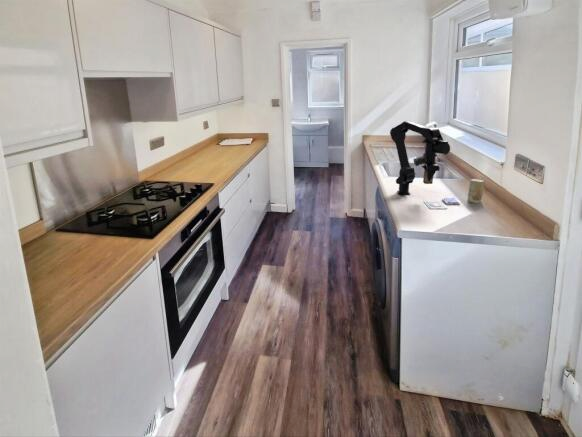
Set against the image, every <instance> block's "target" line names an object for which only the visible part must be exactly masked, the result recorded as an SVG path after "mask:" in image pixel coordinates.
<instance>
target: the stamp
mask: <svg viewBox="0 0 582 437" xmlns="http://www.w3.org/2000/svg"><path fill="white" fill-rule="evenodd" d="M433 180H434V176H433V177H432V179H431V180H430V181H428V176H427V171H423V181H422V183H423V184H425V185H429V184H430V185H432V184H433Z"/></svg>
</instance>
